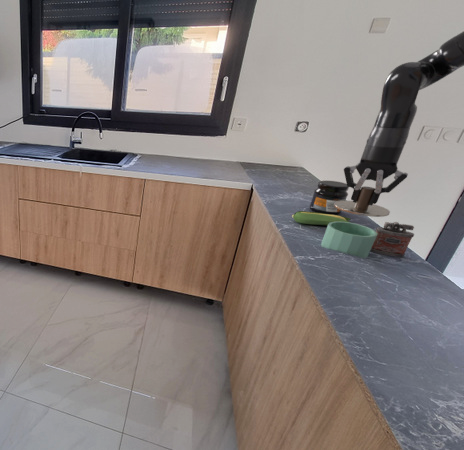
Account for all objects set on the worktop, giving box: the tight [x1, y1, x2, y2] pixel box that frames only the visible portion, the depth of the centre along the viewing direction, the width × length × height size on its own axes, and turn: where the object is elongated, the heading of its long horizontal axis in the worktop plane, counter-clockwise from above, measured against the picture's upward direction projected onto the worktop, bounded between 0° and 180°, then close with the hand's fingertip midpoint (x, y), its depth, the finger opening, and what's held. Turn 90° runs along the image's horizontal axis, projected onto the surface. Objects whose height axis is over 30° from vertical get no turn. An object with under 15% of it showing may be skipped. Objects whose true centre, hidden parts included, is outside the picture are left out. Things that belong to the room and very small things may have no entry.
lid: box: [334, 186, 391, 218], centre depth 91 cm, size 12×12×7 cm
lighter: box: [370, 221, 415, 258], centre depth 94 cm, size 8×3×10 cm, turn 55°
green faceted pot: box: [320, 221, 378, 259], centre depth 97 cm, size 11×11×8 cm
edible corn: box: [291, 210, 352, 226], centre depth 115 cm, size 5×20×5 cm, turn 70°
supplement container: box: [309, 180, 350, 216], centre depth 126 cm, size 10×10×12 cm
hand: (362, 202), depth 92 cm, fingers closed on lid, 3 cm apart
